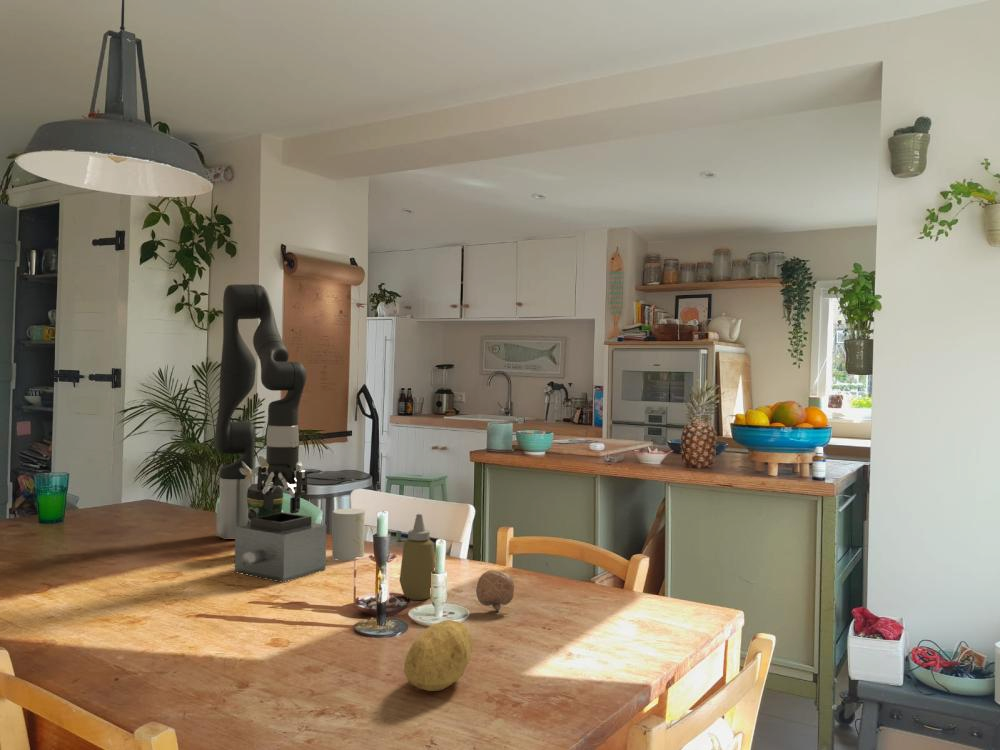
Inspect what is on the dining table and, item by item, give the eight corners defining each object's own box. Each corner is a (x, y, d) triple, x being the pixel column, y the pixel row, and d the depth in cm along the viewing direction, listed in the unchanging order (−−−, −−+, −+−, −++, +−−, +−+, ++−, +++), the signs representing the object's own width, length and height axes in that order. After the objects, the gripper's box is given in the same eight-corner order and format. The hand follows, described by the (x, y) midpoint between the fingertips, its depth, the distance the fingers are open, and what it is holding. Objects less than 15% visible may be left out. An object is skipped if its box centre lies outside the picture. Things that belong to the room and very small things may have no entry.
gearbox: (221, 576, 184) (222, 521, 184) (277, 560, 200) (278, 509, 200) (270, 586, 176) (271, 529, 176) (325, 569, 192) (326, 516, 192)
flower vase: (231, 542, 220) (233, 452, 220) (287, 532, 234) (288, 448, 234) (258, 549, 212) (260, 456, 211) (314, 538, 226) (315, 452, 226)
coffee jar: (287, 555, 206) (288, 484, 206) (260, 560, 200) (261, 487, 200) (268, 548, 213) (269, 480, 213) (241, 553, 207) (242, 483, 207)
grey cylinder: (360, 561, 201) (361, 514, 201) (329, 560, 201) (329, 513, 201) (366, 553, 209) (367, 508, 209) (336, 552, 210) (337, 508, 209)
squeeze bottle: (430, 603, 166) (431, 518, 166) (394, 600, 168) (395, 516, 168) (440, 593, 174) (442, 512, 174) (406, 590, 176) (407, 510, 176)
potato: (489, 680, 126) (490, 621, 126) (423, 708, 115) (424, 644, 115) (445, 664, 133) (446, 608, 133) (379, 689, 122) (380, 628, 122)
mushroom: (518, 610, 163) (519, 571, 163) (502, 617, 158) (503, 578, 158) (489, 603, 167) (489, 566, 167) (472, 610, 162) (472, 572, 162)
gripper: (249, 443, 190) (248, 510, 190) (293, 447, 183) (292, 516, 183) (272, 441, 196) (271, 505, 197) (315, 444, 189) (314, 511, 190)
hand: (281, 510), depth 190 cm, fingers open, 8 cm apart
